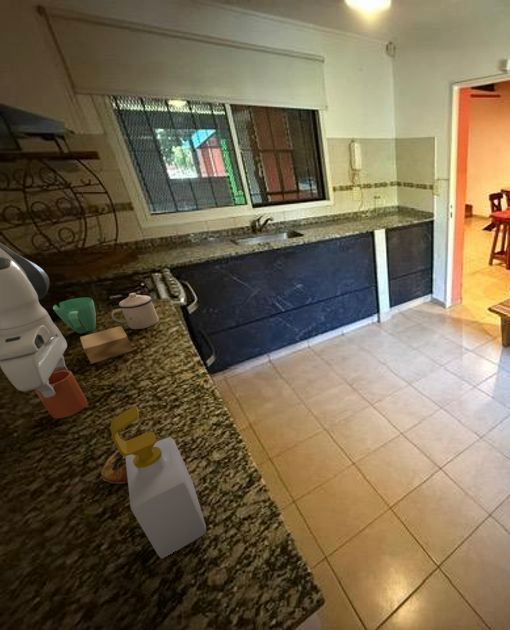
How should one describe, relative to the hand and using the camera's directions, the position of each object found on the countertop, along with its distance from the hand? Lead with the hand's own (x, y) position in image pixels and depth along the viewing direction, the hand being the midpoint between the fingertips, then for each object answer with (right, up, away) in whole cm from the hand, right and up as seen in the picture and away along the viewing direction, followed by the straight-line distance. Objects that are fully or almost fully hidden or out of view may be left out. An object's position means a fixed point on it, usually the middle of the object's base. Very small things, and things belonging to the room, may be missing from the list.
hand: (57, 383), depth 80 cm
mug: (-29, +10, +37) cm, 48 cm away
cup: (0, -7, +3) cm, 7 cm away
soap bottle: (+43, -19, -21) cm, 52 cm away
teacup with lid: (-15, +12, +41) cm, 46 cm away
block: (-12, +5, +26) cm, 29 cm away
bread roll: (+28, -14, -11) cm, 33 cm away
